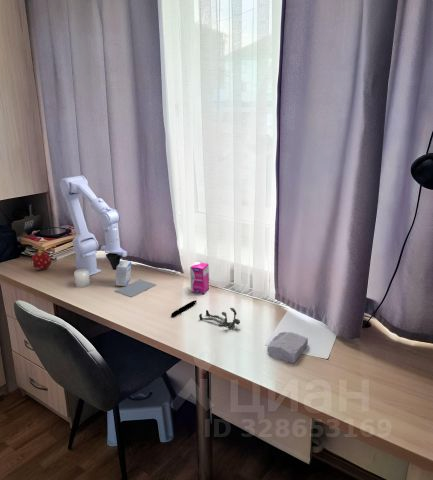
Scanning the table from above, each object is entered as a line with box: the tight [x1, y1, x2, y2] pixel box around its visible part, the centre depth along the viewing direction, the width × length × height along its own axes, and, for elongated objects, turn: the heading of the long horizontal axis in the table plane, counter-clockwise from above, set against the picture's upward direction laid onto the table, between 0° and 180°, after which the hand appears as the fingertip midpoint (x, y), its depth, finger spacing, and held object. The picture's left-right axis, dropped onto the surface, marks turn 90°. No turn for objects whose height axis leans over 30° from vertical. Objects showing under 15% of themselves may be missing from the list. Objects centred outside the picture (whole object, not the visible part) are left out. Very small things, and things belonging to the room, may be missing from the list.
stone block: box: [266, 331, 309, 364], centre depth 121 cm, size 12×5×10 cm
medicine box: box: [115, 260, 132, 287], centre depth 169 cm, size 8×4×9 cm, turn 179°
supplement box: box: [189, 261, 210, 295], centre depth 160 cm, size 6×6×12 cm
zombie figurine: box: [198, 307, 241, 328], centre depth 136 cm, size 5×7×15 cm
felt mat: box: [114, 279, 157, 298], centre depth 165 cm, size 10×14×1 cm
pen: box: [171, 300, 198, 318], centre depth 146 cm, size 2×14×2 cm, turn 143°
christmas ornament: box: [31, 249, 52, 271], centre depth 186 cm, size 9×9×10 cm
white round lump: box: [73, 269, 91, 288], centre depth 169 cm, size 6×6×6 cm
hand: (115, 269), depth 170 cm, fingers closed
